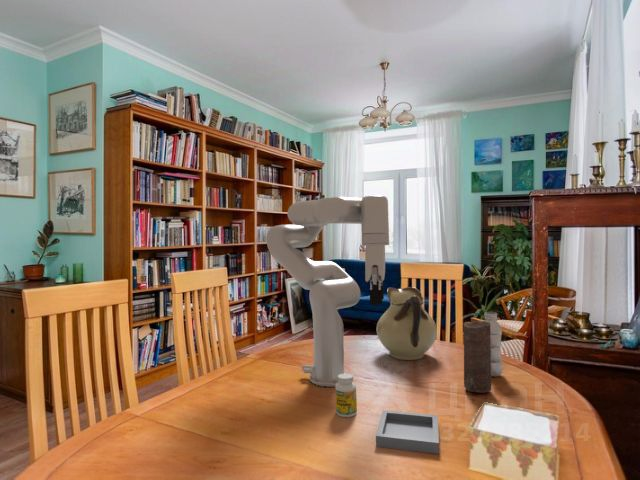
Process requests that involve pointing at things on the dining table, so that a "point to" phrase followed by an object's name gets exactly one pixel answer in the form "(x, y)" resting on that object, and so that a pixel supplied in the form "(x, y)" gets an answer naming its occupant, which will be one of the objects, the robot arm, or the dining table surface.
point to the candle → (477, 356)
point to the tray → (408, 431)
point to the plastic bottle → (495, 343)
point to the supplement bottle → (346, 396)
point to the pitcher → (406, 325)
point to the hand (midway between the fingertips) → (377, 301)
